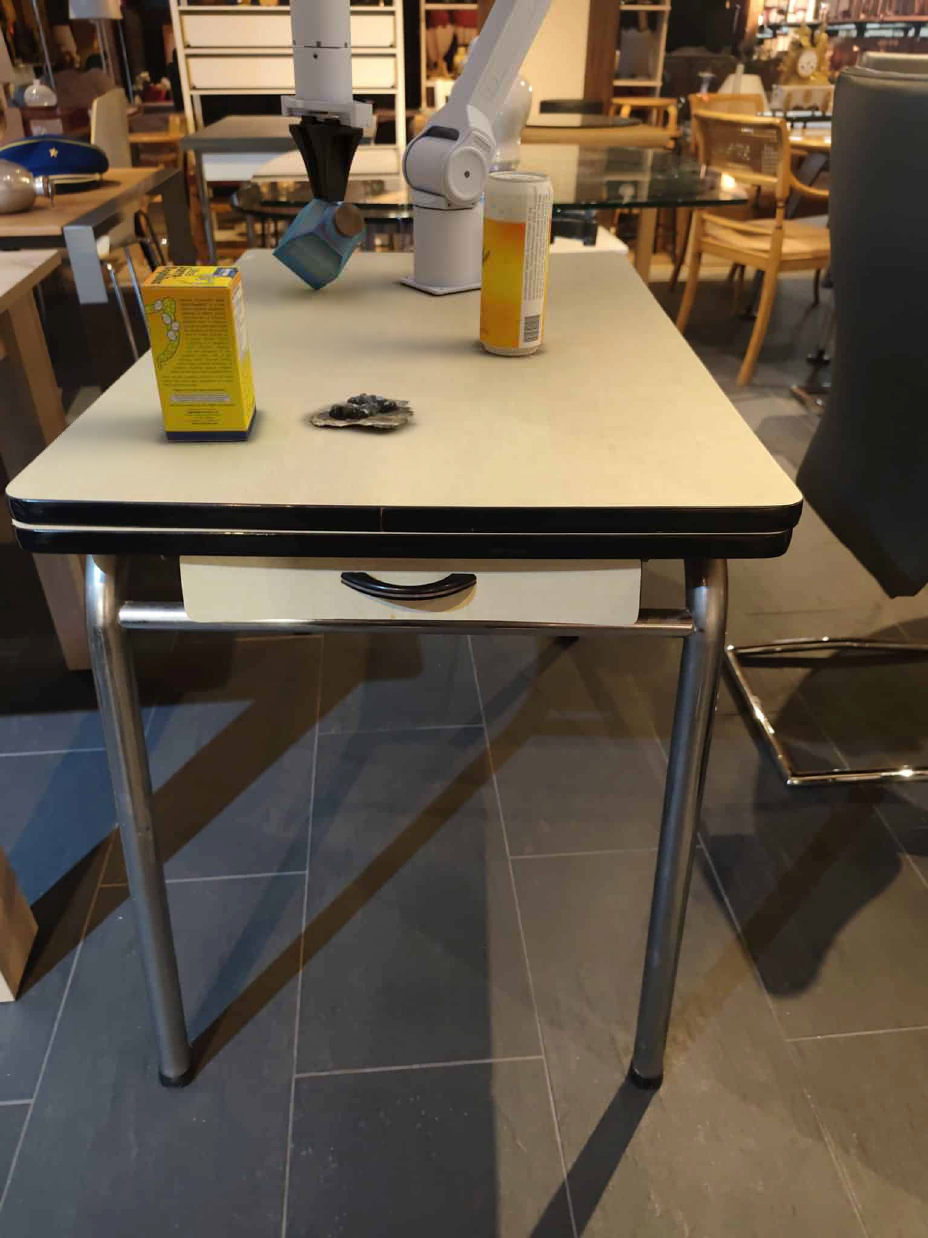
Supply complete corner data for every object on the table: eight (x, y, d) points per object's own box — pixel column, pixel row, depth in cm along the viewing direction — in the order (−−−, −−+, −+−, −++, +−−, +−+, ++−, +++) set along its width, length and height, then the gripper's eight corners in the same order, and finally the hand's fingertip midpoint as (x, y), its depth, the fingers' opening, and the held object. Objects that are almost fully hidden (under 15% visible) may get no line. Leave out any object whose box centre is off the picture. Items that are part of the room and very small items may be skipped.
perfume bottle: (342, 249, 104) (387, 217, 93) (316, 291, 102) (359, 263, 92) (299, 211, 101) (341, 174, 90) (272, 254, 99) (311, 221, 89)
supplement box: (179, 413, 69) (156, 264, 63) (257, 412, 69) (241, 264, 63) (164, 442, 64) (137, 284, 58) (249, 441, 64) (230, 284, 58)
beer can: (508, 335, 89) (517, 168, 81) (555, 348, 85) (568, 176, 77) (465, 346, 85) (470, 173, 77) (512, 361, 82) (521, 181, 73)
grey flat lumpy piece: (419, 433, 66) (419, 408, 65) (311, 438, 65) (309, 413, 64) (407, 402, 72) (407, 379, 71) (307, 406, 71) (306, 383, 70)
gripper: (250, 44, 89) (262, 192, 97) (324, 48, 80) (332, 212, 87) (311, 46, 93) (318, 189, 100) (389, 50, 84) (391, 207, 91)
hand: (328, 199), depth 94 cm, fingers closed, pressing on perfume bottle
